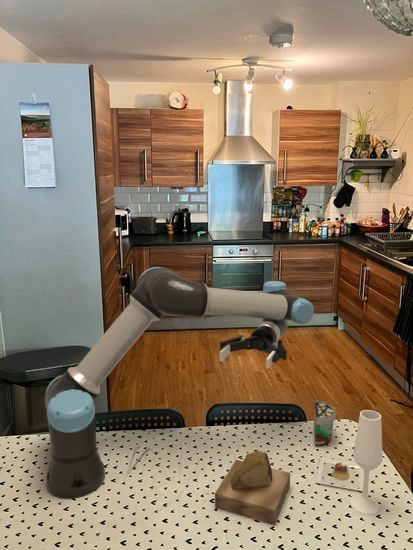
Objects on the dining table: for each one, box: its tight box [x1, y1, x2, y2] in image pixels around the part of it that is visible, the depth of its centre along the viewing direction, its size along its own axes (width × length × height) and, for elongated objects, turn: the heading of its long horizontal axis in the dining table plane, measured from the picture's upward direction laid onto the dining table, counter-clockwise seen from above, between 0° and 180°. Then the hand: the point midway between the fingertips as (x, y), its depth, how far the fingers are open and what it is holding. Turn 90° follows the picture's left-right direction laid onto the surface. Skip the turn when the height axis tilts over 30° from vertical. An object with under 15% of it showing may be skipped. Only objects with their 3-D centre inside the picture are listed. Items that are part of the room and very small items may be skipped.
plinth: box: [214, 459, 291, 526], centre depth 116 cm, size 15×15×4 cm
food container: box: [313, 399, 337, 447], centre depth 141 cm, size 12×6×10 cm, turn 168°
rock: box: [231, 450, 273, 489], centre depth 115 cm, size 11×9×10 cm
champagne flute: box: [349, 409, 384, 515], centre depth 111 cm, size 7×7×24 cm
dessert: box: [315, 456, 364, 492], centre depth 124 cm, size 12×12×5 cm
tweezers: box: [125, 445, 151, 477], centre depth 130 cm, size 17×5×2 cm, turn 168°
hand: (243, 360), depth 127 cm, fingers open, 13 cm apart
